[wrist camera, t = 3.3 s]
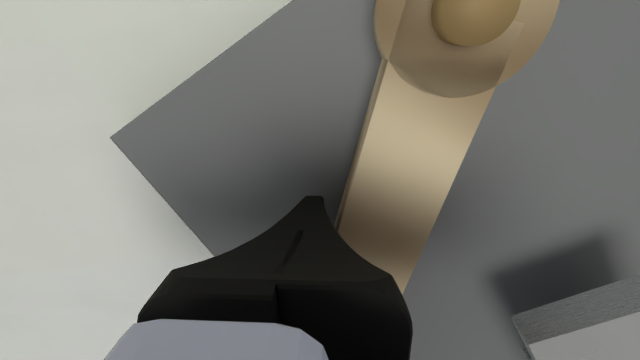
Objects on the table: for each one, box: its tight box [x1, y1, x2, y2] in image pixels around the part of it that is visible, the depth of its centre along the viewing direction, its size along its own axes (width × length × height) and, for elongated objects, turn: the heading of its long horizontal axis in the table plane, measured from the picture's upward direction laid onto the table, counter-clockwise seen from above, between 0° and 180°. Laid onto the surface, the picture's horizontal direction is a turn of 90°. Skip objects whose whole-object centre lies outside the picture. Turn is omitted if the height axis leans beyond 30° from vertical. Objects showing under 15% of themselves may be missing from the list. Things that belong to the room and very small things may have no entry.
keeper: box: [511, 274, 640, 360], centre depth 12 cm, size 8×5×4 cm, turn 32°
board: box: [110, 0, 640, 360], centre depth 14 cm, size 20×24×1 cm
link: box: [334, 0, 560, 294], centre depth 11 cm, size 16×5×2 cm, turn 167°
